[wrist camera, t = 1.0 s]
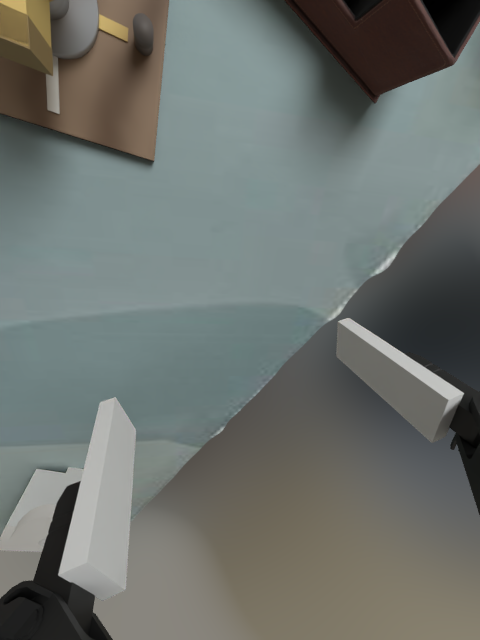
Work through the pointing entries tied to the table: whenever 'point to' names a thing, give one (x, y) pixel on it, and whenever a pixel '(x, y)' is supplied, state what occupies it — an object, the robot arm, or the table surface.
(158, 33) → the base
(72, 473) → the white mounting bracket
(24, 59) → the yellow block with ball
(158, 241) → the table surface
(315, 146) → the table surface
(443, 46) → the desk organizer
